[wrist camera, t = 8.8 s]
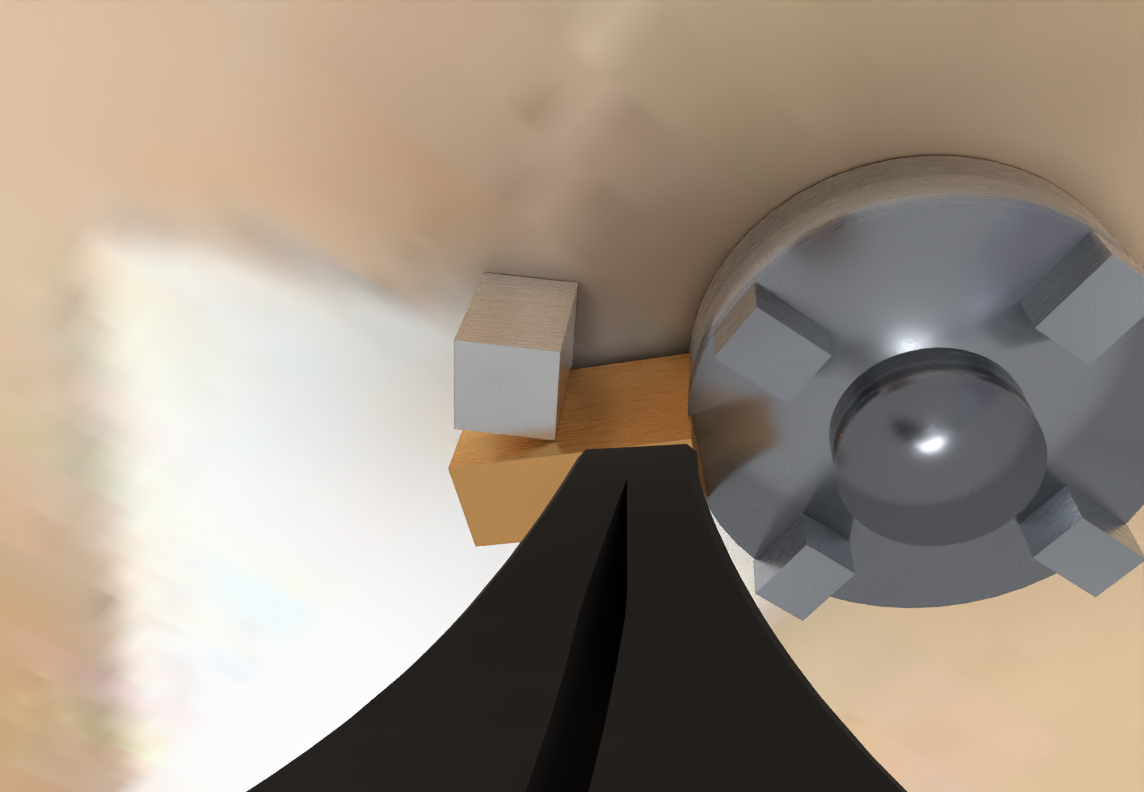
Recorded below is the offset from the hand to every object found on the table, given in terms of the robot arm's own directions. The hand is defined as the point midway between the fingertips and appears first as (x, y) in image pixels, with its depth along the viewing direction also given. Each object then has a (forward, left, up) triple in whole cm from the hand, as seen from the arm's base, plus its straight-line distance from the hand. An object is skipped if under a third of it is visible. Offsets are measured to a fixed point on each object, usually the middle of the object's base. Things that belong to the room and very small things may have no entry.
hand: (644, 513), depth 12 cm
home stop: (+2, +3, -9) cm, 10 cm away
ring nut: (-3, +3, -9) cm, 10 cm away
